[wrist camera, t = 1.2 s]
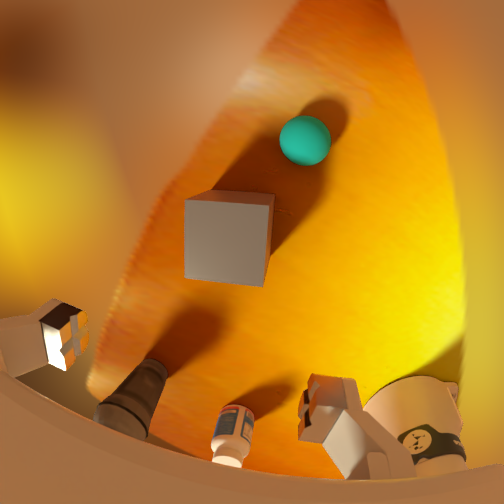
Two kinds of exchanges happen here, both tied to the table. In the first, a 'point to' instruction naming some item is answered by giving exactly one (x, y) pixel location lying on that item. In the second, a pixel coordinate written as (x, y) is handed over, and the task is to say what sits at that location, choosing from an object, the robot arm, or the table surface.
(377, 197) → the table surface
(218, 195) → the matte grey cube
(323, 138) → the ball
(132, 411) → the beverage cup
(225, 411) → the pill bottle
